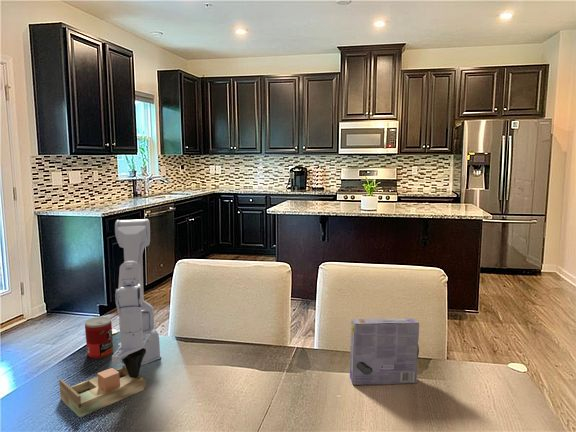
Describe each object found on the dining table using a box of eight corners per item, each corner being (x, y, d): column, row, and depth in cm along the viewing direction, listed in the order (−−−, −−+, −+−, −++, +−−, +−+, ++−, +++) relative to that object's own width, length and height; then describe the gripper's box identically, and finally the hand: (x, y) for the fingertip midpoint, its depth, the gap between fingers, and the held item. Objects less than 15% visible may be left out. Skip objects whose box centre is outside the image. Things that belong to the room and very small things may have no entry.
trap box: (124, 374, 127) (123, 356, 127) (145, 389, 119) (144, 370, 119) (60, 399, 115) (59, 379, 114) (79, 417, 107) (77, 396, 106)
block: (112, 381, 119) (111, 367, 118) (120, 386, 116) (119, 372, 116) (98, 387, 116) (97, 373, 115) (105, 392, 113) (104, 378, 113)
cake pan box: (414, 375, 126) (416, 316, 123) (421, 384, 121) (423, 322, 118) (348, 377, 125) (349, 318, 122) (352, 386, 120) (353, 324, 117)
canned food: (104, 359, 137) (101, 326, 135) (81, 357, 138) (79, 324, 137) (118, 349, 144) (116, 317, 143) (96, 347, 146) (94, 315, 144)
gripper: (134, 318, 126) (137, 362, 128) (100, 338, 112) (104, 387, 114) (156, 320, 124) (158, 365, 126) (124, 341, 110) (127, 391, 112)
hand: (134, 376), depth 120 cm, fingers closed
